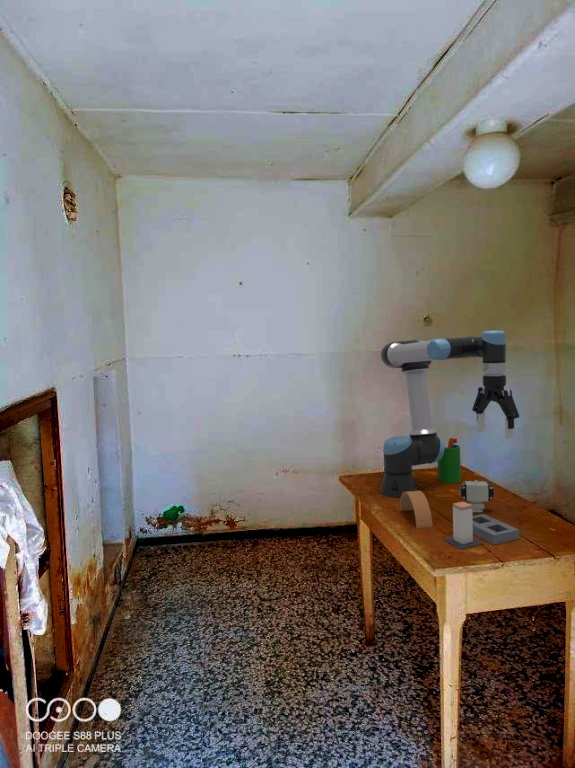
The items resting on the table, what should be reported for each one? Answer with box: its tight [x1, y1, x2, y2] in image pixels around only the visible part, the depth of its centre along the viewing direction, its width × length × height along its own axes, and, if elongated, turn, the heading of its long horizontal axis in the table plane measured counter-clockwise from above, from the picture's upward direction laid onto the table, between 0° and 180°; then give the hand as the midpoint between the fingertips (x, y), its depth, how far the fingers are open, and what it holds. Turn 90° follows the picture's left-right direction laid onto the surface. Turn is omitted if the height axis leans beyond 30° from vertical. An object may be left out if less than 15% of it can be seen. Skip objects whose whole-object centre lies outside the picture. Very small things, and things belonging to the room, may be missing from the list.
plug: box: [452, 501, 474, 544], centre depth 161 cm, size 4×4×12 cm
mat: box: [442, 535, 485, 550], centre depth 162 cm, size 9×9×1 cm
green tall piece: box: [437, 436, 462, 484], centre depth 228 cm, size 10×9×20 cm
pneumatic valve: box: [458, 479, 495, 514], centre depth 189 cm, size 6×12×12 cm, turn 78°
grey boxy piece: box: [472, 513, 520, 545], centre depth 168 cm, size 16×10×4 cm, turn 20°
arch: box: [399, 490, 433, 529], centre depth 185 cm, size 6×20×10 cm, turn 4°
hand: (494, 434), depth 178 cm, fingers open, 13 cm apart
